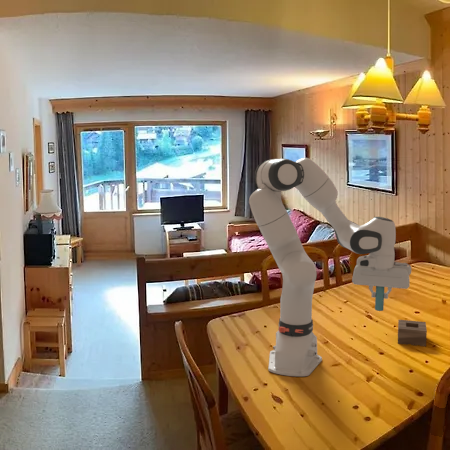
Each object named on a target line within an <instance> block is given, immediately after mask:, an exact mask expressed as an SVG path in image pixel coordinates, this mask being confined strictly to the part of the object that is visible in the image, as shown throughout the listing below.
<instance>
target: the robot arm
mask: <svg viewBox="0 0 450 450" xmlns="http://www.w3.org/2000/svg"><path fill="white" fill-rule="evenodd" d="M294 188H295V189H296V190H297V191H298V192H299V193H300V194H301V196H302V197H303V198H304V199H305V200H306V201H307V202H308V203H309V204H310V206H312V207H313V208H314V209H315V210H317V211H318V212H319V213H321V214H322V215H323V217H324V219H326V221H327V222H328V223H329V225H330V226H331V227H332V229H333V231H334V234H335V235H334V236H335V237H336V238H335V239H336V241H337V243H338V244H339V245H340V246H341V247H343V249H344V248H345V249H348V250H350V251H351V252H353V253H355V254H358V255H360V256H359V257H358V258H357V259H356V265H355V267H354V269H353V272H352V273H353V274H352V278H351V279H352V280H351V282H352V284H353V285H357V286H358V285H359V286H368V290H369V291H370V293H371V298H373V299H374V298H376V291H374V289H373V288H374V287H376V286H380V287H385V288H387V291H386V292H384V300H385V299H389V294H390V293H391V292H392V289H408V288H410V275H411V274H412V266H411V264H408V263H407V262H398V261H395V256H396V255H395V254H396V253H395V245H396V239H397V238H396V237H397V236H396V235H397V234H396V233H397V231H396V224H395V222H394V221H393V220H392V219H390V218H387V217H383V216H373V218H372V219H371V220H369V221H368V222H366V223H364V224H361V225H360V224H357V223H356V222H354V221H352V220H350V219H349V218H348V217H347V216H346V215H345V214H344V212H343V211H342V210H341V208H340V207H339V206H338V204H337V202H336V201H337V198H338V195H339V193H338V189H337V187H336V185H335V184H334V181H332V179H331V178H330V177H329V176H328V174H327V173H326V172H325V170H323V169H322V168H321V167H320V166H319V165H318V164H317V163H316V162H315V161H313V159H310V158H309V157H302V158H299V159H297V160H296V161H294V160H291V159H289V158H272V159H267V160H265V161H263V162H261V163H260V164H258V165H257V167H256V169H255V171H254V189H255V191H253V192H252V193H251V194H250V196H249V199H248V203H249V207H250V210H251V214H252V216H253V219H254V221H255V224H256V225H257V227H258V229H259V231H260V233H261V235H262V237H263V238H264V241H265V244H267V247H268V249H269V251H270V253H271V254H272V255H271V256H272V257H273V260H274V261H275V263H276V265H277V267H278V269H279V271H280V272H281V274H282V289H281V295H280V307H279V308H280V310H279V311H280V312H279V313H280V315H279V316H280V318H279V321H278V330H277V331H276V332H275V345H273V347H272V349H273V350H270V351H269V357H268V358H269V359H268V368H267V369H268V371H269V372H270V373H273V374H276V375H281V376H288V377H308V376H310V375H311V374H312V373H313V371H314V370H315V369H316V368H317V367H318V365H319V364H321V362H322V361H323V357H322V356H321V355H319V354H318V336H316V335H315V333H314V331H313V330H314V323H313V319H312V318H313V317H312V314H313V313H312V312H313V309H312V308H313V295H314V290H315V284H316V279H317V267H316V265H315V263H314V261H313V260H312V259H311V258H310V257H309V255H308V254H307V252H306V251H305V248H304V245H303V244H302V242H301V239H300V237H299V235H298V231H297V230H296V228H295V225H294V223H293V222H292V219H291V217H290V216H289V213H288V211H287V209H286V207H285V205H284V204H283V200H282V192H286V191H289V190H292V189H294ZM367 254H368V255H367ZM361 255H362V256H361Z"/></svg>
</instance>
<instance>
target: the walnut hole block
mask: <svg viewBox="0 0 450 450" xmlns="http://www.w3.org/2000/svg"><path fill="white" fill-rule="evenodd" d="M397 322H398V324H397V327H398V328H397V344H401V345H408V344H411V346H417V345H420V346H419V347H426V346H427V335H428V334H427V331H428V330H427V323H426V321H419V320H417V321H416V320H406V319H398V321H397Z"/></svg>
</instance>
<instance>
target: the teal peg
mask: <svg viewBox="0 0 450 450" xmlns="http://www.w3.org/2000/svg"><path fill="white" fill-rule="evenodd" d="M385 288H386V287H380V286H375V292H376V298H375V301H374V310H375V311H377V312H378V311H379V312H382V311H384V307H385V305H384V304H385V298H384V293H385Z"/></svg>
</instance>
